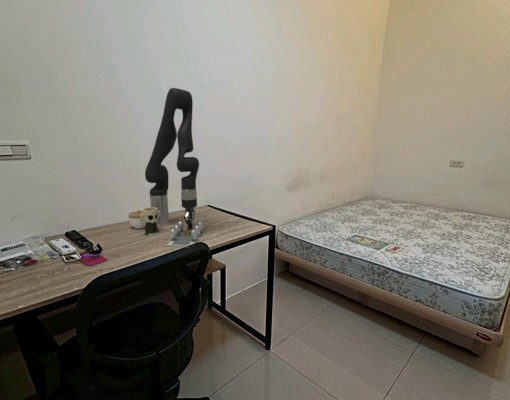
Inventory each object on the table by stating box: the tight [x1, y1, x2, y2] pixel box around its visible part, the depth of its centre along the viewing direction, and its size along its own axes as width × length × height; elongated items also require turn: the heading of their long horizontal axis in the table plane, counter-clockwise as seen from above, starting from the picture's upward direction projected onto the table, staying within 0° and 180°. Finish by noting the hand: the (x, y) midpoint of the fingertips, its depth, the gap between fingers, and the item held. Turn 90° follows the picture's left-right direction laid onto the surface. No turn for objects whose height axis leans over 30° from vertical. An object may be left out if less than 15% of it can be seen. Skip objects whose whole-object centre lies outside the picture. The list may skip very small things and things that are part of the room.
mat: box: [165, 229, 205, 248], centre depth 143 cm, size 12×24×2 cm, turn 177°
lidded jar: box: [128, 210, 146, 230], centre depth 159 cm, size 11×11×9 cm
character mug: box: [140, 206, 160, 235], centre depth 150 cm, size 11×7×13 cm, turn 138°
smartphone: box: [78, 250, 108, 267], centre depth 121 cm, size 8×1×15 cm
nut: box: [183, 227, 192, 237], centre depth 146 cm, size 4×5×3 cm
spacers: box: [169, 220, 204, 243], centre depth 144 cm, size 13×15×6 cm
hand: (190, 230), depth 150 cm, fingers closed
